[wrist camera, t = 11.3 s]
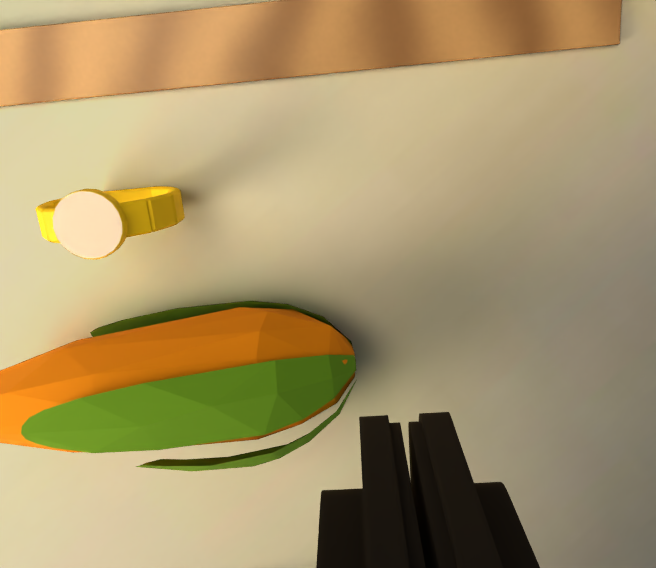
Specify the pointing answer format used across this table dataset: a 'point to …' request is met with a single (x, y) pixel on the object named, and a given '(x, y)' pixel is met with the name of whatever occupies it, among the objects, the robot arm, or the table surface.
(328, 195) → the table surface
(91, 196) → the watch
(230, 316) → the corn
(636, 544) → the table surface
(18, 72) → the ruler
